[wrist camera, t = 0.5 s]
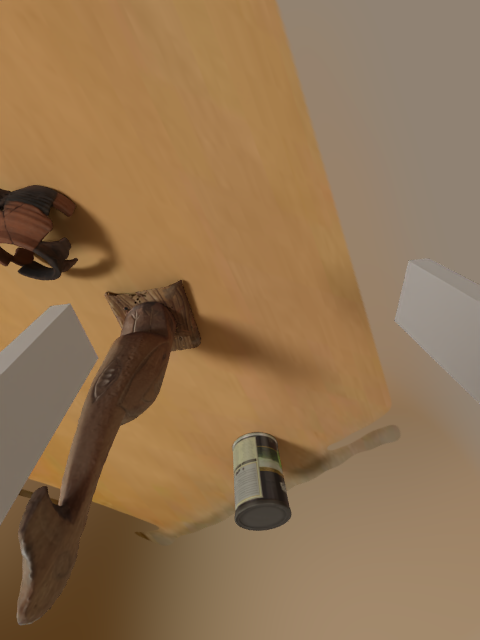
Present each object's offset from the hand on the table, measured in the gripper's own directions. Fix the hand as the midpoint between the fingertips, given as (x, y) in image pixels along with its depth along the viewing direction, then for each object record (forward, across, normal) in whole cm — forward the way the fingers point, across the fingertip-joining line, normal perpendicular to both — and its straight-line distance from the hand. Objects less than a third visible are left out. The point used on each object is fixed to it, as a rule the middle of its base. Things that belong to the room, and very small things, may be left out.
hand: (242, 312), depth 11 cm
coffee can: (+26, -1, -51) cm, 57 cm away
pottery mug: (+27, -23, +1) cm, 36 cm away
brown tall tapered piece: (+27, -13, -15) cm, 33 cm away
